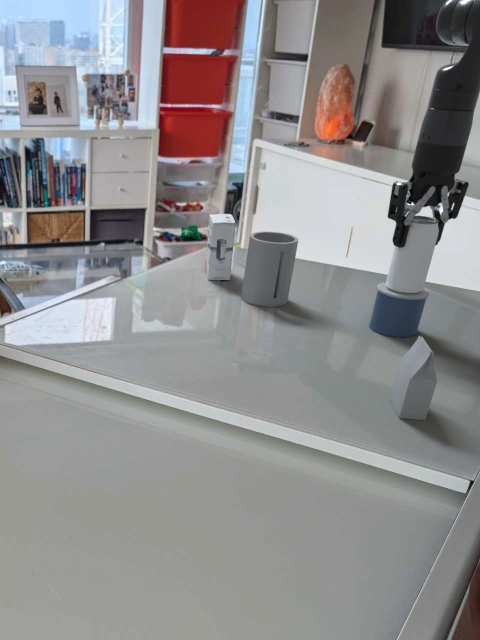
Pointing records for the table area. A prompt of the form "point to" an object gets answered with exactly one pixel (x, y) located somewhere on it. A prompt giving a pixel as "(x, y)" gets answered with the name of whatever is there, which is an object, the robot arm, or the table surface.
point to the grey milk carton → (414, 382)
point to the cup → (269, 268)
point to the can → (413, 257)
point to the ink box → (220, 246)
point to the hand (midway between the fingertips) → (415, 245)
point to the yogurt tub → (397, 312)
